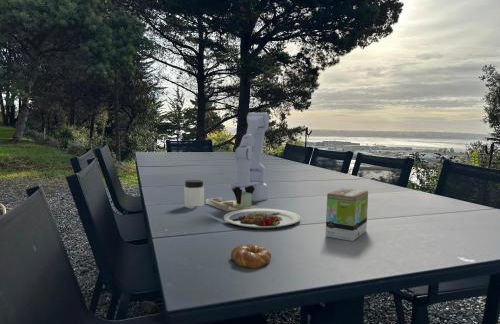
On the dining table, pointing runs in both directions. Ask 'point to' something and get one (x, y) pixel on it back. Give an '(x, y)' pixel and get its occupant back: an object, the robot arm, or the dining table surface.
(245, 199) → the tea tin
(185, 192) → the jar
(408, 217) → the dining table surface
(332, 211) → the tea box
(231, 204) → the beige compartment tray
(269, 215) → the plated food
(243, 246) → the bagel
